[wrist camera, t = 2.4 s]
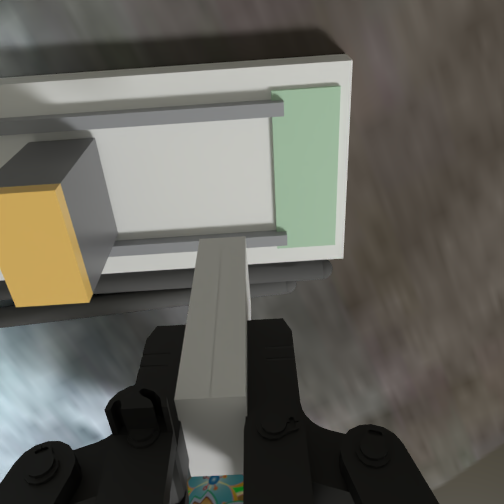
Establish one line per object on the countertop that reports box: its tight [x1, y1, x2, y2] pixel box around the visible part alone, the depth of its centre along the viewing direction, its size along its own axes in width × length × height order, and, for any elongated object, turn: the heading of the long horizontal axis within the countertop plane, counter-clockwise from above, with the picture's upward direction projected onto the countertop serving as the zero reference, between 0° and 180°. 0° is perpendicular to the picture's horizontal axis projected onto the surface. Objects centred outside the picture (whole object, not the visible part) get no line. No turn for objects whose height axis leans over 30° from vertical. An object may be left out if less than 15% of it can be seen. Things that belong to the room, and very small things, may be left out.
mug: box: [187, 468, 243, 504], centre depth 30 cm, size 12×9×11 cm
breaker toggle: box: [0, 138, 118, 307], centre depth 21 cm, size 3×5×6 cm, turn 4°
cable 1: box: [0, 259, 332, 300], centre depth 27 cm, size 25×1×1 cm, turn 93°
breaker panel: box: [0, 54, 353, 281], centre depth 24 cm, size 26×10×2 cm, turn 93°
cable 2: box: [0, 281, 296, 328], centre depth 28 cm, size 23×1×1 cm, turn 97°
